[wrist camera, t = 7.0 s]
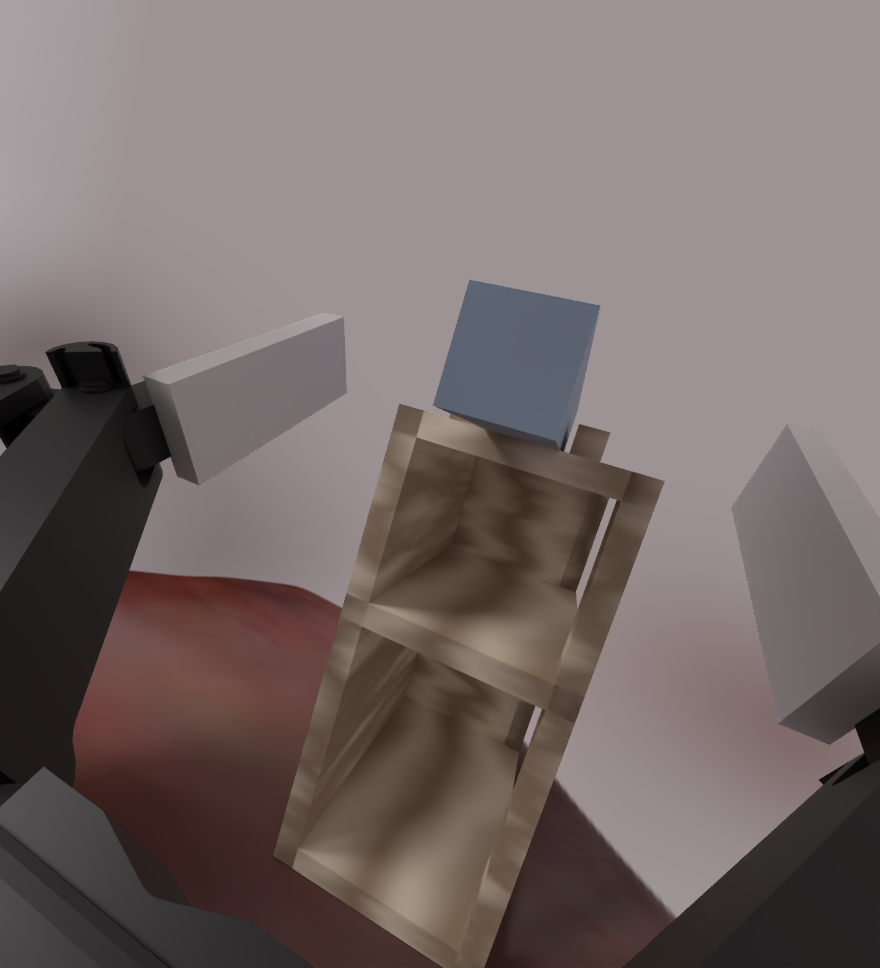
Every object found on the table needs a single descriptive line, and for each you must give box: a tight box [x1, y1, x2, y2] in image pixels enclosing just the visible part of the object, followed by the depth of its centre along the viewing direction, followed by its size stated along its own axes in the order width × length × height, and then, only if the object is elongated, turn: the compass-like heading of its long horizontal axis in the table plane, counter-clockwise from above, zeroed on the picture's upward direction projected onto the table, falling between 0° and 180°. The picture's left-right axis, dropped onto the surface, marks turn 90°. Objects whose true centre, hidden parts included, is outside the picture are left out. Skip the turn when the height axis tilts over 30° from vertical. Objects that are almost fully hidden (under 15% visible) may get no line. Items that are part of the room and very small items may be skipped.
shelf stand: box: [273, 404, 664, 968], centre depth 33 cm, size 14×20×32 cm
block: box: [433, 280, 600, 452], centre depth 25 cm, size 4×26×4 cm, turn 162°
